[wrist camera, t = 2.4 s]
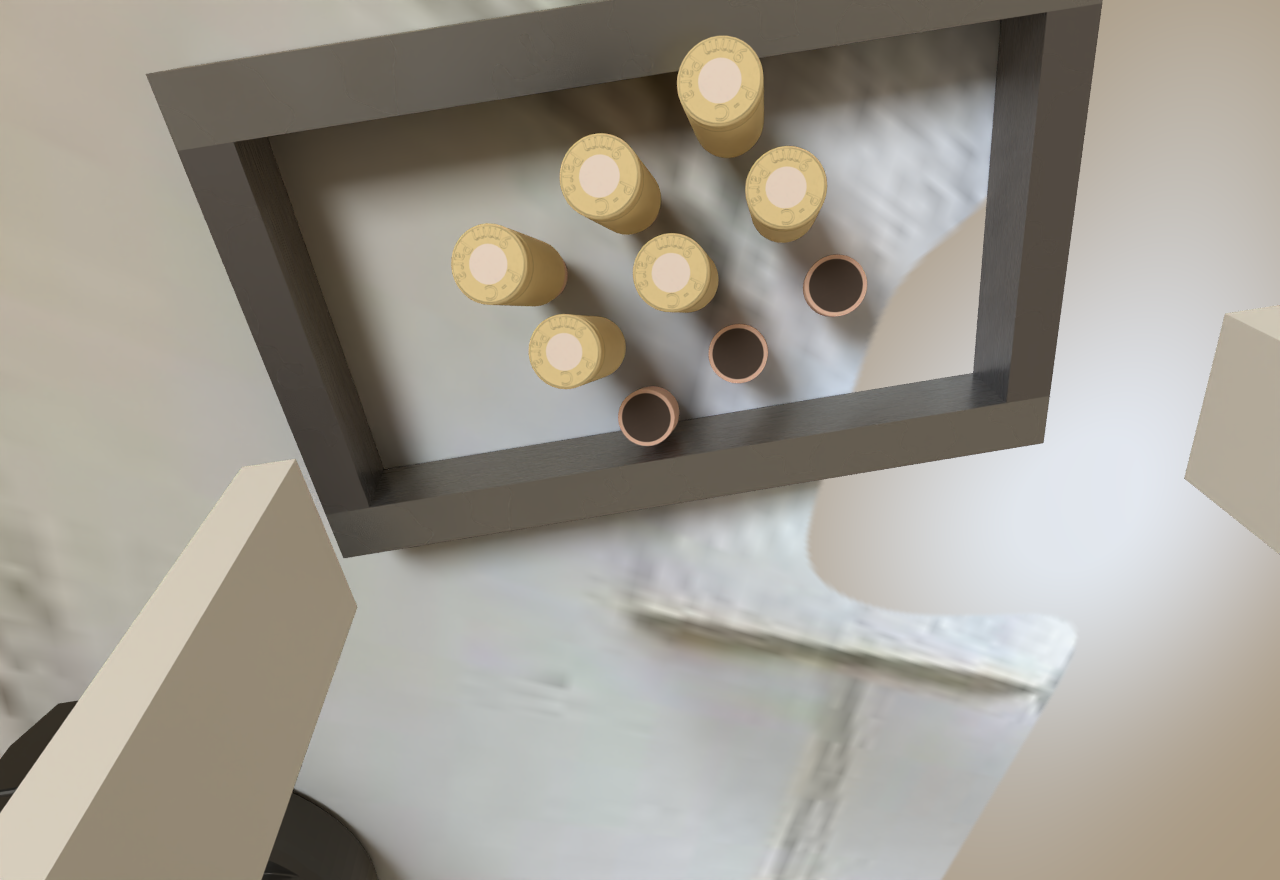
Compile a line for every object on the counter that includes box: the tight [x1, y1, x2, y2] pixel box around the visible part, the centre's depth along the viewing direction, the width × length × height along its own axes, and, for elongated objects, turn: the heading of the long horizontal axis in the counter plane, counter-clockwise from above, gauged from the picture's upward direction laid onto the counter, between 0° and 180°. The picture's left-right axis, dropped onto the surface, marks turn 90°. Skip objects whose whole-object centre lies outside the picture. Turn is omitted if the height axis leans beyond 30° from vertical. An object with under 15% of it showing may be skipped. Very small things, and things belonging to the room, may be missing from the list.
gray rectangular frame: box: [146, 0, 1102, 558], centre depth 20 cm, size 12×20×2 cm, turn 98°
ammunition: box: [451, 36, 867, 446], centre depth 19 cm, size 5×7×8 cm
